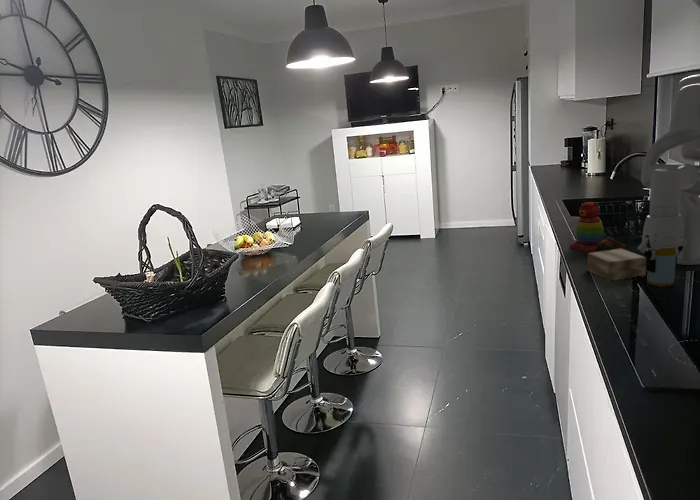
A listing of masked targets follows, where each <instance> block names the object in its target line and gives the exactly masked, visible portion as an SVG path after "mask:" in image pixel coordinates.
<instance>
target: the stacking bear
mask: <svg viewBox="0 0 700 500" xmlns="http://www.w3.org/2000/svg"><path fill="white" fill-rule="evenodd" d="M578 213H579V216H580V217H579V219H578V221H577V224H576V225H577V226H576V228H575V229H576V230H575V234H576V239H577V241H575V242H572V243H571V244H570V245H569V246H570V247H569V248H570V249H573V250H579V251H582V252H583V253H587V254H588V253H593V252H595V251H596V248H597V246H598V244H599V243H600V242H601V241H602V240H603V237H604V225H603V223H602V220H601V217H599V213H600V207H599V204H598V202H594V201H589V202H587V201H582V204H581V206H580V207H579V209H578Z"/></svg>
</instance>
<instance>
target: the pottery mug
mask: <svg viewBox="0 0 700 500" xmlns="http://www.w3.org/2000/svg"><path fill="white" fill-rule="evenodd" d="M627 247H628V246H627V245H626V244H625V243H622V242H621V241H619V240H617V239H614V238H613V237H611V236H606V238H605V239H602V241H601V242H600V243H599V244H598V246H597V248H596V251H595V252H599V251H606V250H613V249H620V248H622V249H624V250H627Z"/></svg>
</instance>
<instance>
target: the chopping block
mask: <svg viewBox="0 0 700 500" xmlns="http://www.w3.org/2000/svg"><path fill="white" fill-rule="evenodd" d="M646 260H647V258H645V257H644V255H640V254H638V253H635V252H632V251H629V250H627V249H625V250H624V249H622V248H620V249H619V248H614V249H613V250H606V251H599V252H592V253H587V269H586V270H587V271H588V272H590V273H592V274H595V276H598V275H599V277H600V278H603V279H605V278H606V279H605V280H607V279H608V280H607V281H609V280H614V281H619V280H618V279H620V280H625V278H627V279H632V278H631V277H633V278H638V277H637V276H640V277H646V272H647V270H646Z"/></svg>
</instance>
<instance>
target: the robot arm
mask: <svg viewBox="0 0 700 500" xmlns="http://www.w3.org/2000/svg"><path fill="white" fill-rule="evenodd" d="M669 122H670V124H669V128H668V130H667V132H666V133H664V134H663V135H661V136H660V137H659V138H658V139H657V140H656V141H654V142H653V144H652V145H651V146H650V147H649V148H648V150H647V152H646V155H645V158H644V161H643V165H642V169H641V174H640V180H641V184H642V185H643V187H645V188H647V189H650V196H649V214H648V215H646V218H645V221H644V223H643V231H642V238H641V243H640V244H639V245H638V246H637V251H639V253H641V254H642V256H643V257H645V258H646V272H648V271H650V272H652V273H654V272H655V269H656V260H654V258H655V255H656V252H657V250H660V249H661V246H662V242H663V238H671V237H675V246H674V247H675V250H676V262H675V270H677V265H685V266H696V265H697V266H698V265H700V165H699V164H695V165H694V164H690V163H700V74H694V75H689V76H687V77H684V78H682V79H681V80H680V81H679V83H678V86H677V95H676V98H675V103H674V106H673V111H672V114H671V119H670V121H669ZM677 147H681V148H680V156H681V158H682V160H684V161H686V162H690V163H658V161H659V159H660V158H661V157H662V156H663V155H664V154H666V153H667V152H669V151H671V150H673V149H675V148H677ZM650 250H652V253H651V254H650Z"/></svg>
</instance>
